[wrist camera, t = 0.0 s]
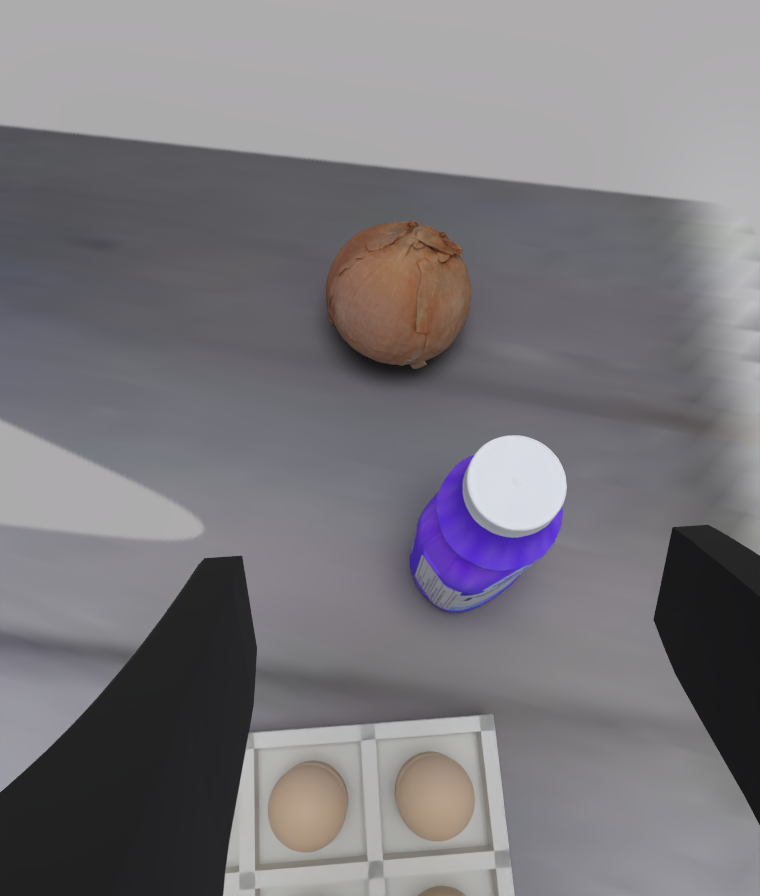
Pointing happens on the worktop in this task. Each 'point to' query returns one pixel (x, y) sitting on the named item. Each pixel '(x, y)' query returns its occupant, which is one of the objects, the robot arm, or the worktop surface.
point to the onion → (399, 293)
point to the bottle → (488, 523)
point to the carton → (371, 811)
